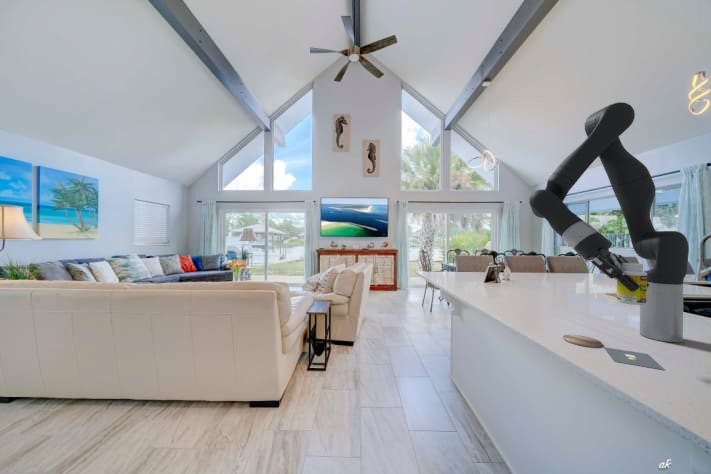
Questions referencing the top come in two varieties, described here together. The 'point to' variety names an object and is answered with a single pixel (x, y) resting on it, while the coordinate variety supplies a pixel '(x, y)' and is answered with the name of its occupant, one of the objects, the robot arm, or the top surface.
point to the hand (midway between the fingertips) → (641, 288)
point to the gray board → (633, 358)
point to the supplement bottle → (640, 278)
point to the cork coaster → (582, 340)
